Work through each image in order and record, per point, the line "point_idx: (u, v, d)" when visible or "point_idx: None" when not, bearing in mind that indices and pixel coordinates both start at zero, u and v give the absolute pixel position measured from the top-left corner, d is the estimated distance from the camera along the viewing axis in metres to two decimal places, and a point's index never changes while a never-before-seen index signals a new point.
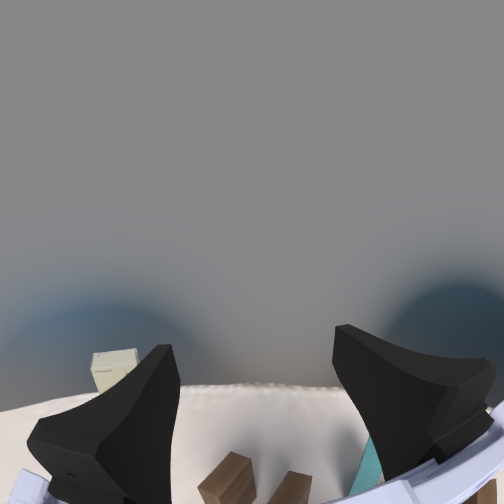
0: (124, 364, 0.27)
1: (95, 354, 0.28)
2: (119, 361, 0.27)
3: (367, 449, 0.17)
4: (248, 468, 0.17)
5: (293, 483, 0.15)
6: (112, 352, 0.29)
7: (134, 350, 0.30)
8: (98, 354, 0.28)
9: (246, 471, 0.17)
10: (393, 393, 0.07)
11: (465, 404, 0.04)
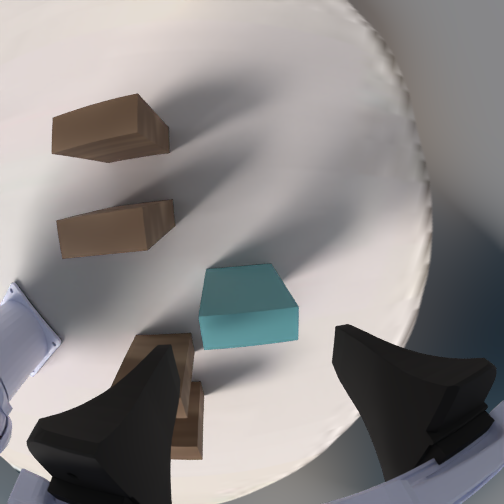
0: None
1: None
2: None
3: (239, 316, 0.13)
4: (133, 138, 0.12)
5: (120, 229, 0.11)
6: None
7: None
8: None
9: (124, 139, 0.11)
10: (393, 393, 0.07)
11: (465, 404, 0.04)
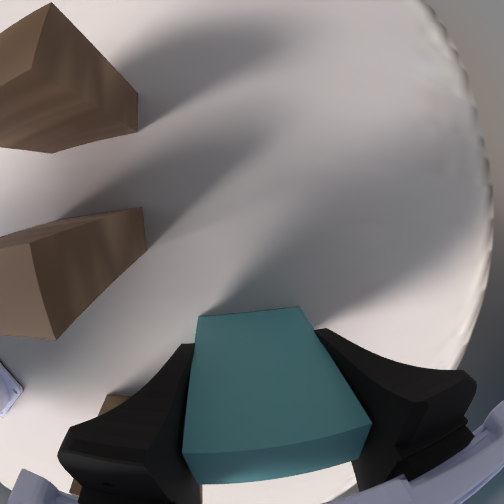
0: None
1: None
2: None
3: (263, 452, 0.05)
4: (37, 89, 0.04)
5: (4, 291, 0.04)
6: None
7: None
8: None
9: (24, 95, 0.04)
10: (364, 403, 0.06)
11: (439, 420, 0.04)
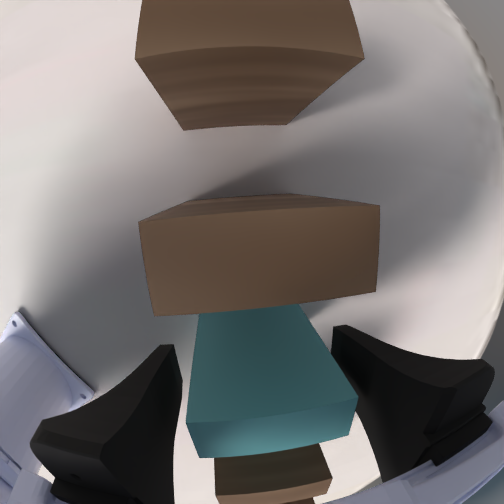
0: None
1: None
2: None
3: (258, 421, 0.06)
4: (327, 69, 0.05)
5: (331, 250, 0.05)
6: None
7: None
8: None
9: (312, 67, 0.05)
10: (391, 394, 0.07)
11: (463, 405, 0.04)
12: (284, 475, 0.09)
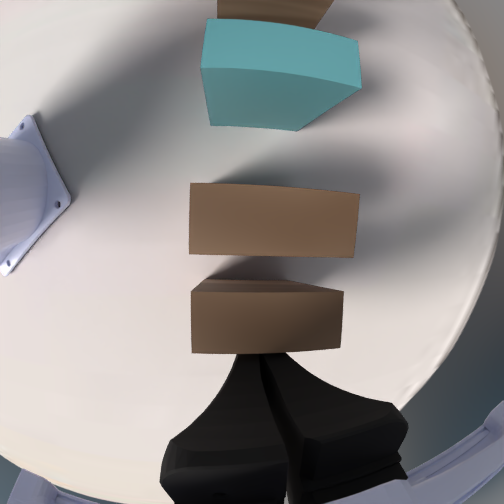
0: None
1: None
2: None
3: (271, 26, 0.06)
4: None
5: None
6: None
7: None
8: None
9: None
10: (283, 422, 0.06)
11: (351, 457, 0.04)
12: None
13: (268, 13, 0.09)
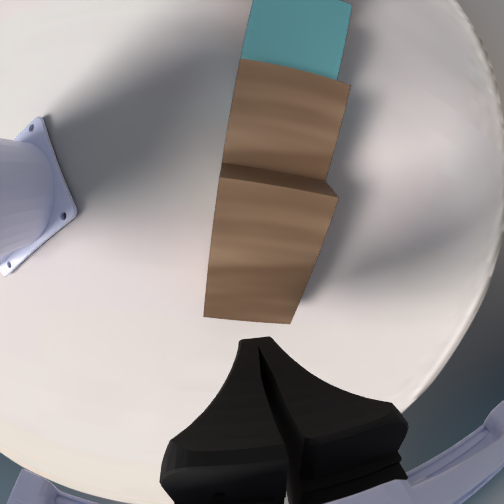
0: None
1: None
2: None
3: None
4: None
5: None
6: None
7: None
8: None
9: None
10: (283, 422, 0.06)
11: (351, 457, 0.04)
12: None
13: None
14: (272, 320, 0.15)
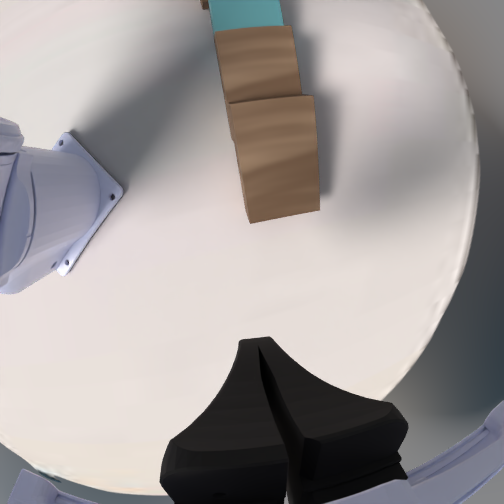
0: None
1: None
2: None
3: None
4: None
5: None
6: None
7: None
8: None
9: None
10: (283, 422, 0.06)
11: (351, 457, 0.04)
12: None
13: None
14: (304, 210, 0.18)
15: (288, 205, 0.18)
